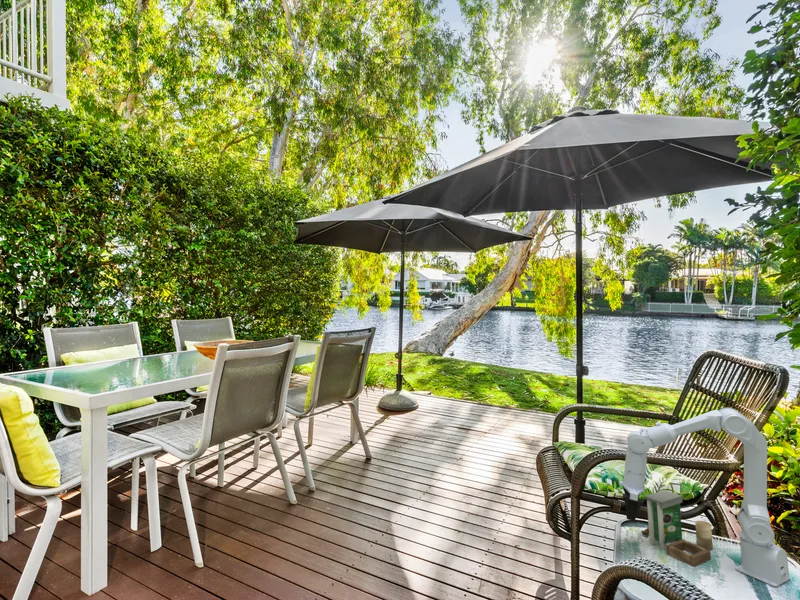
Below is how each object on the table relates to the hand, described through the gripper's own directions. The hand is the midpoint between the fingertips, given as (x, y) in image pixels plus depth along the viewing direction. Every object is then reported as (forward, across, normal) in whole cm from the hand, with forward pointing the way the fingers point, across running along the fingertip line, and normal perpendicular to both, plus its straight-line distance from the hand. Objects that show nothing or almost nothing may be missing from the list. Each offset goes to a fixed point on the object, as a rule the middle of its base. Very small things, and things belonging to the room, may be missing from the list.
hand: (630, 514), depth 132 cm
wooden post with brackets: (+10, -14, +8) cm, 18 cm away
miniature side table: (+9, -8, +11) cm, 17 cm away
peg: (+7, -10, +21) cm, 25 cm away
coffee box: (+9, -11, +12) cm, 19 cm away
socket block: (+8, -2, +16) cm, 18 cm away
